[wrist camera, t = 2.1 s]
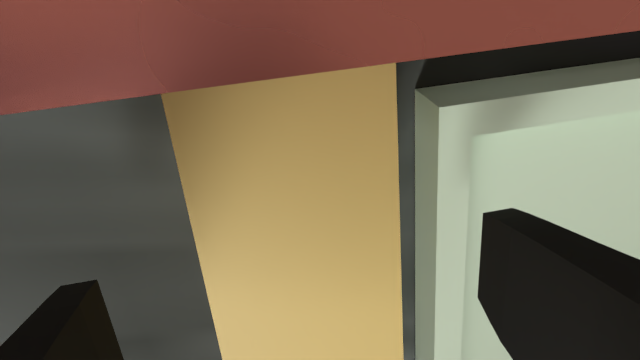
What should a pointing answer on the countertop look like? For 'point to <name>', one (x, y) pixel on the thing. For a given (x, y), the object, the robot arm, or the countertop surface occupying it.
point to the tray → (517, 182)
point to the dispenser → (258, 40)
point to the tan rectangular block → (296, 212)
